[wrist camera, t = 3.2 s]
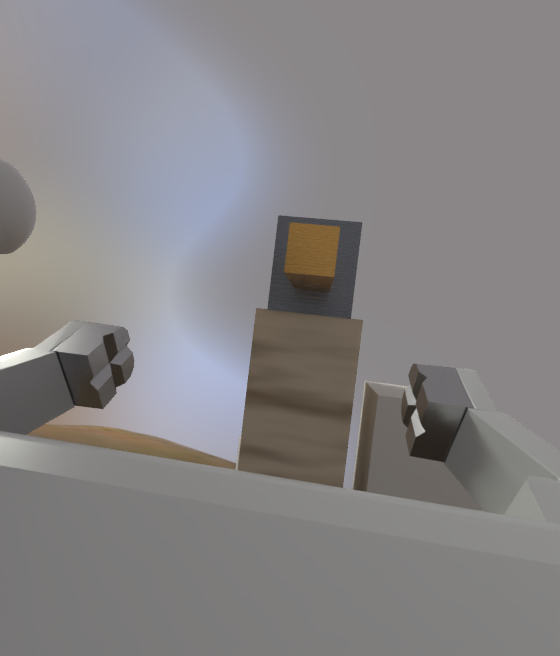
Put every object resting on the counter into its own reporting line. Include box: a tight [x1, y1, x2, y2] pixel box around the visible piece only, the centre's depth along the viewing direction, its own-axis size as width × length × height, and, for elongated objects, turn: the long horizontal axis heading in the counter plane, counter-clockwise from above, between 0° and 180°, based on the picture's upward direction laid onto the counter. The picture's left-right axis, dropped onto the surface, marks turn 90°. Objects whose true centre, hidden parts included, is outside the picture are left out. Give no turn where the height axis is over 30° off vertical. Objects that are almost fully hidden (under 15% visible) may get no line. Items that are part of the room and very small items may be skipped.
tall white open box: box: [352, 381, 481, 511], centre depth 32 cm, size 8×9×20 cm
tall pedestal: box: [237, 308, 363, 488], centre depth 33 cm, size 8×9×26 cm
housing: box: [268, 216, 362, 319], centre depth 29 cm, size 16×7×8 cm, turn 174°
